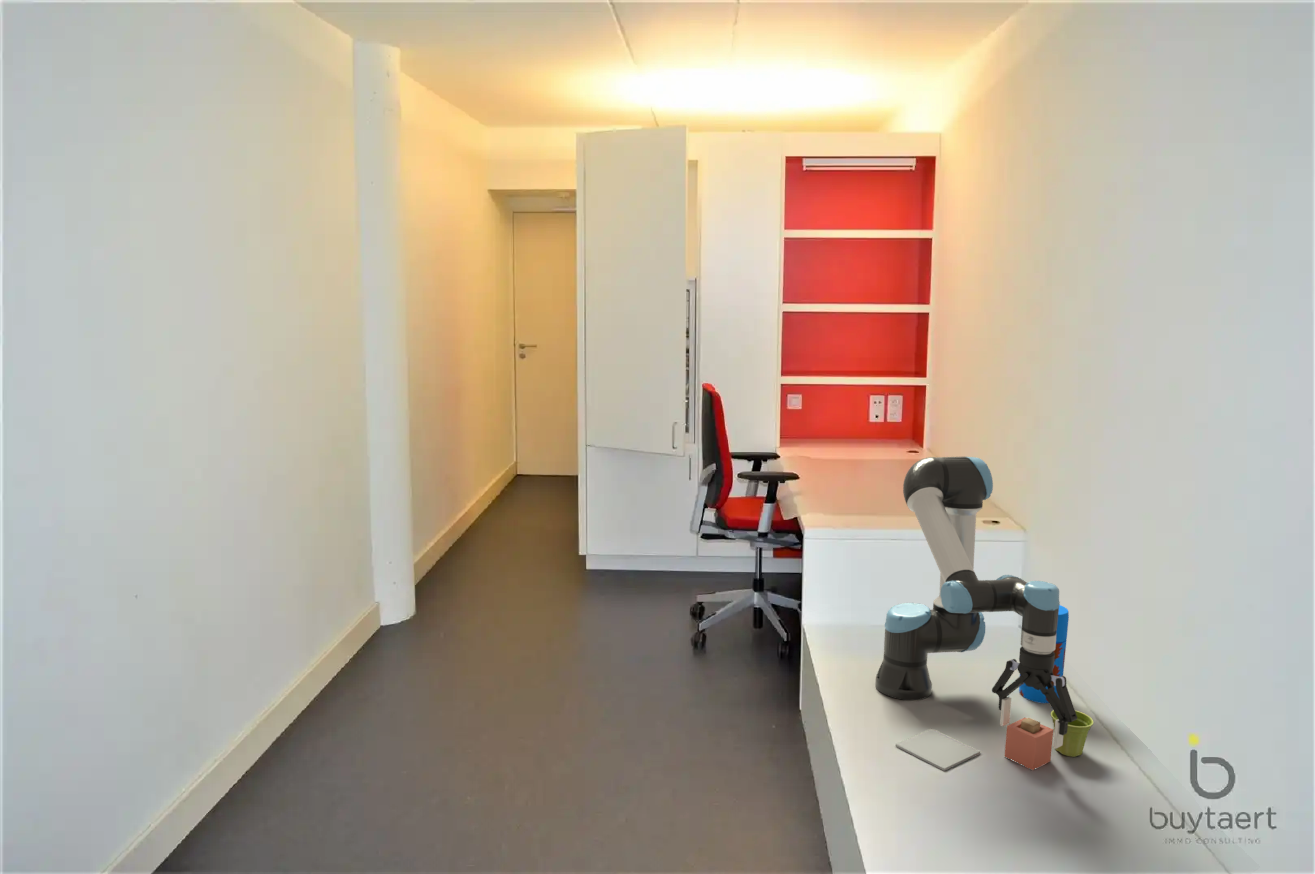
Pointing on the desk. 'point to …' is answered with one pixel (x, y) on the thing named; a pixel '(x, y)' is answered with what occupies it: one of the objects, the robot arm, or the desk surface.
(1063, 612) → the thermos
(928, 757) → the coaster
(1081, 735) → the plant pot
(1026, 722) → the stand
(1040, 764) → the salmon square sleeve
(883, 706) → the desk surface
